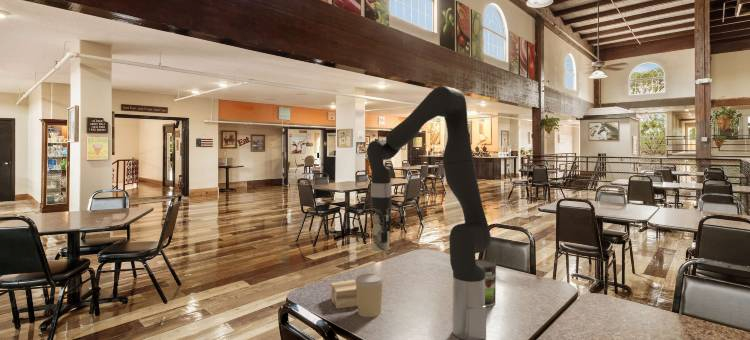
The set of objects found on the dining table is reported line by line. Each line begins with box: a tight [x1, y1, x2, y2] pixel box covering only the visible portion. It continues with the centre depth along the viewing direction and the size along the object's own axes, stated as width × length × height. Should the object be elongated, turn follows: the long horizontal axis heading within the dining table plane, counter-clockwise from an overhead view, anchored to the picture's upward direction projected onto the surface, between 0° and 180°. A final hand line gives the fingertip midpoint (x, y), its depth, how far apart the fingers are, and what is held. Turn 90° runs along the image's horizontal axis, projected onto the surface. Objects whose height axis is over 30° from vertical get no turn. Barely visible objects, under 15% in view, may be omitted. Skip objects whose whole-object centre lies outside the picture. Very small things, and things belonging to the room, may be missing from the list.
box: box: [372, 215, 391, 253], centre depth 139 cm, size 5×4×13 cm
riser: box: [330, 279, 358, 310], centre depth 138 cm, size 10×10×6 cm
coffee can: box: [475, 258, 497, 308], centre depth 137 cm, size 10×10×14 cm
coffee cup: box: [354, 273, 384, 318], centre depth 128 cm, size 9×9×12 cm
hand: (381, 240), depth 139 cm, fingers closed on box, 6 cm apart
